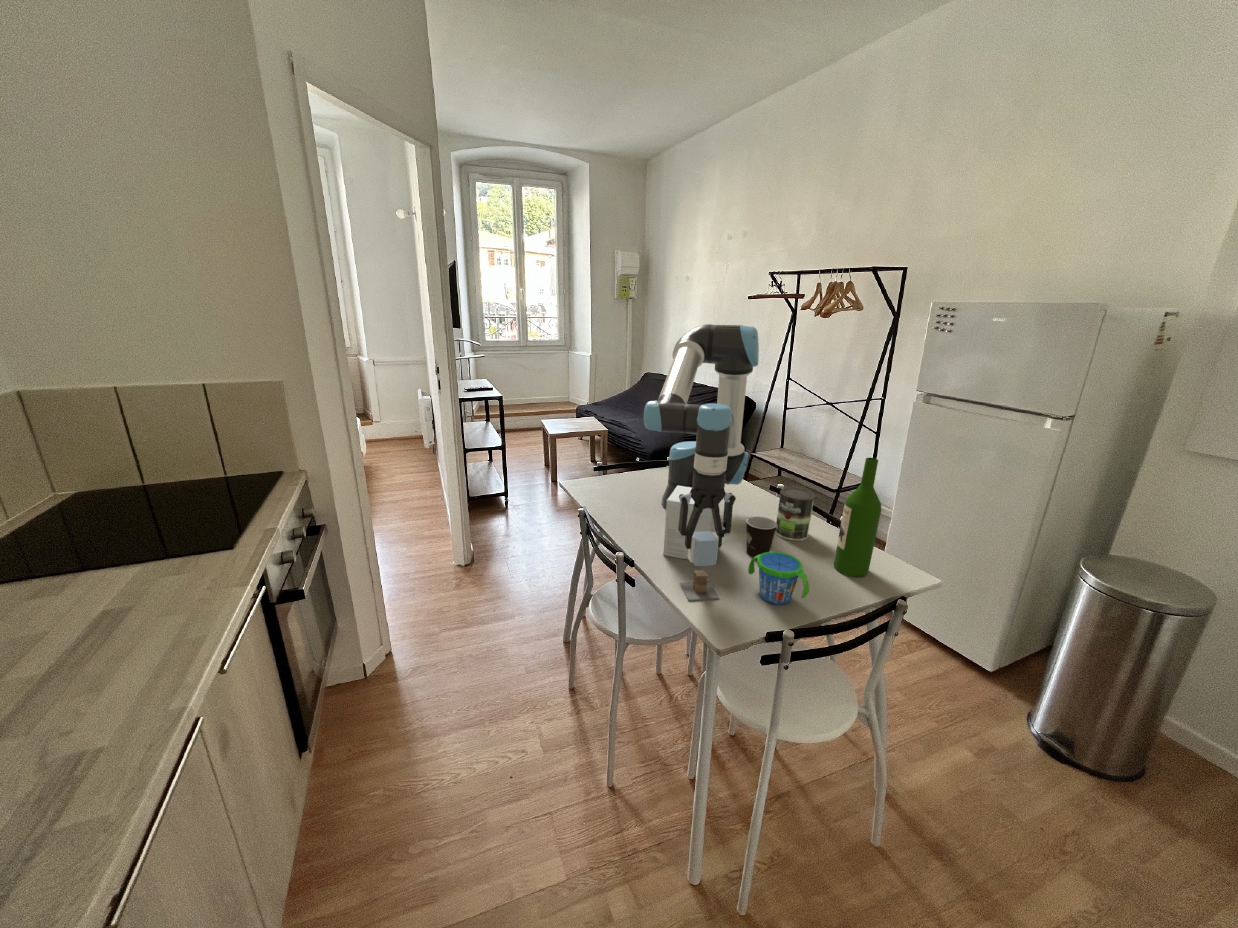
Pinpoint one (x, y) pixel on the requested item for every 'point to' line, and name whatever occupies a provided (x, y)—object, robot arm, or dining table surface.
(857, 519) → the wine bottle
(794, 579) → the snack cup
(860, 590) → the dining table surface
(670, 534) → the supplement box
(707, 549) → the light blue block
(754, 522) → the coffee mug
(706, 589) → the grey square base
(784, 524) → the coffee can
